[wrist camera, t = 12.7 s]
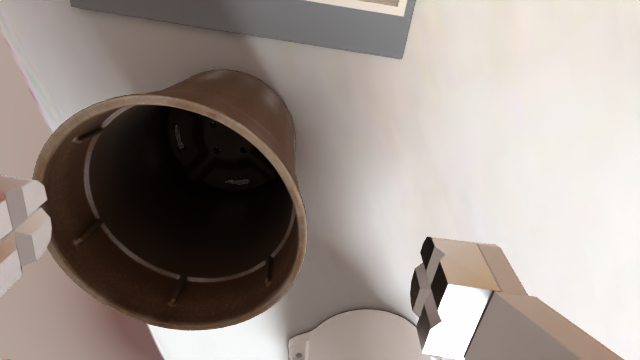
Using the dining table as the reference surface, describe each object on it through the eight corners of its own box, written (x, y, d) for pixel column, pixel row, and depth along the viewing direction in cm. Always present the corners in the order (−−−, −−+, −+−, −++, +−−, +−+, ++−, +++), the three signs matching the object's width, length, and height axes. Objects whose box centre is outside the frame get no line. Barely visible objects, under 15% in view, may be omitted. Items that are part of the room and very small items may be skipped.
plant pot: (111, 61, 37) (-30, 128, 22) (294, 22, 35) (267, 68, 21) (177, 218, 44) (103, 344, 30) (331, 193, 42) (331, 314, 28)
